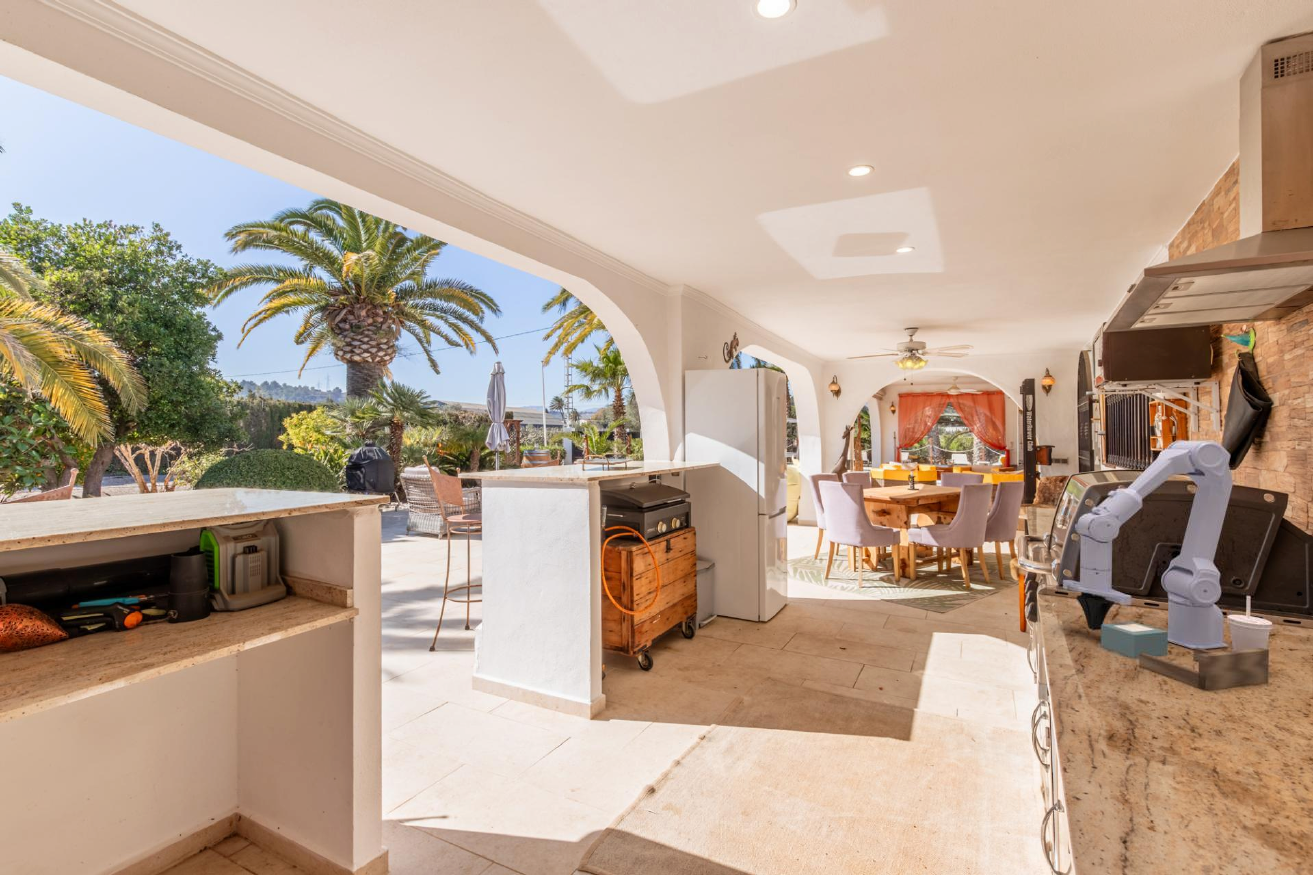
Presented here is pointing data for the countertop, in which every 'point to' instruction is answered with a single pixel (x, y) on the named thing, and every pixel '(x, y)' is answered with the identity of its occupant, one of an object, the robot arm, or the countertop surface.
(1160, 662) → the display stand
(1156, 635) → the carton
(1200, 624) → the robot arm
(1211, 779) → the countertop surface
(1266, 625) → the smoothie
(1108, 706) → the countertop surface
